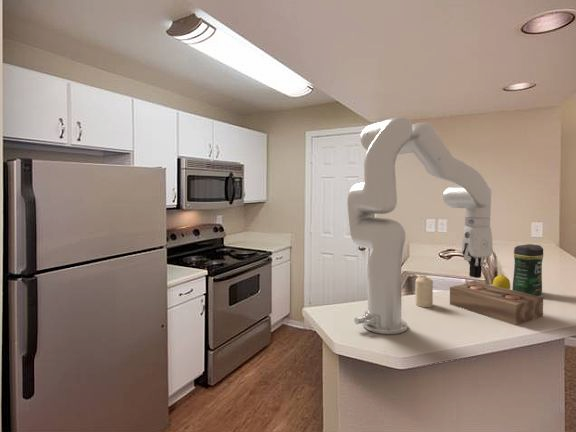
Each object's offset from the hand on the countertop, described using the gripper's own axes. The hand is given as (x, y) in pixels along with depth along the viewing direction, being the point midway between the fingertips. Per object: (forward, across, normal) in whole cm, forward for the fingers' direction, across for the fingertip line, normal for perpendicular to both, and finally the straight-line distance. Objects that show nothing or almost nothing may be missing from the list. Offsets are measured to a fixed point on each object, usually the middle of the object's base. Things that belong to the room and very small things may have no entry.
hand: (475, 276), depth 118 cm
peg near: (+10, +1, -12) cm, 16 cm away
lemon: (+9, +18, +2) cm, 21 cm away
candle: (+11, -14, +9) cm, 20 cm away
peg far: (+10, +1, 0) cm, 10 cm away
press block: (+10, +1, -6) cm, 12 cm away
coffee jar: (+9, +29, -1) cm, 31 cm away
